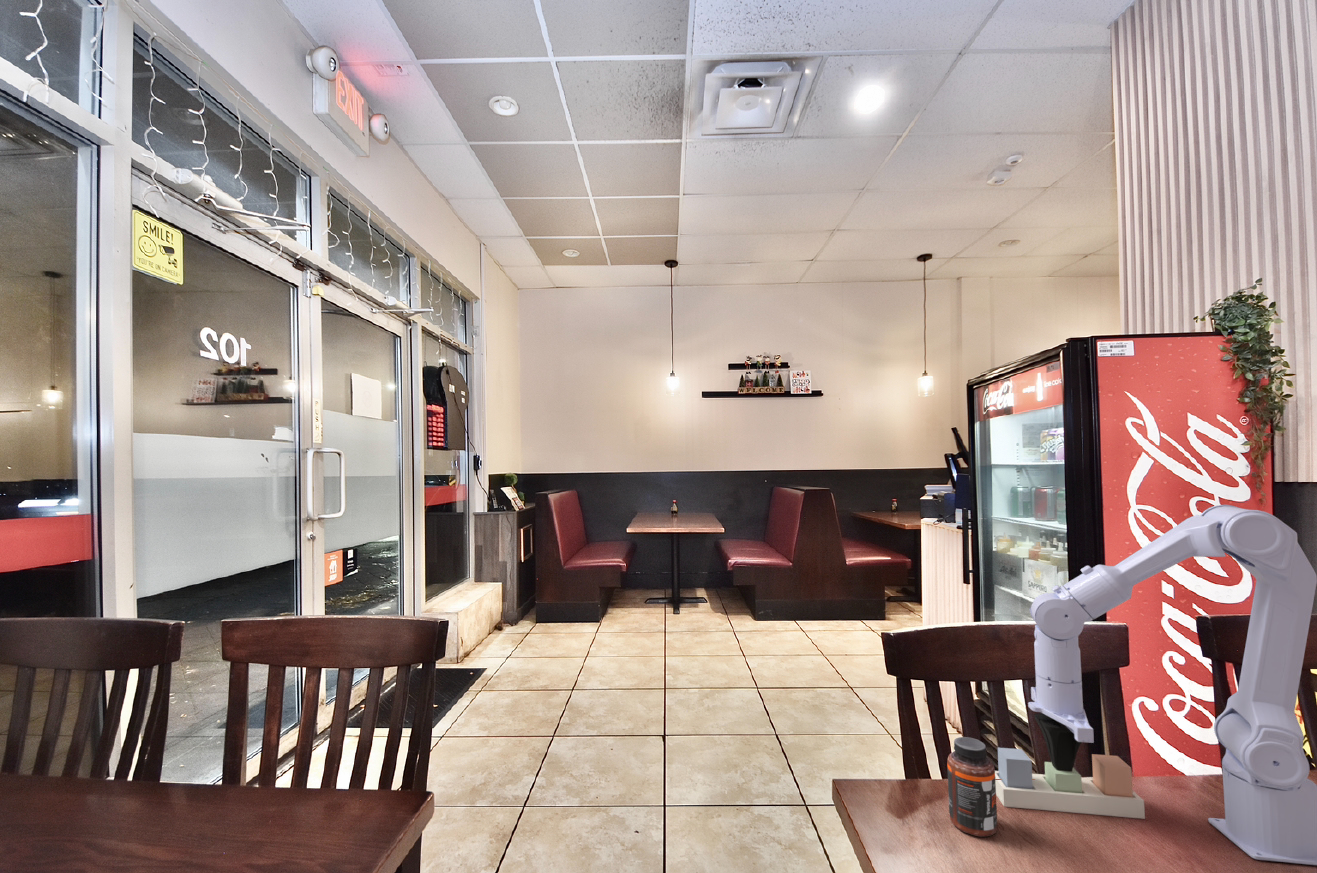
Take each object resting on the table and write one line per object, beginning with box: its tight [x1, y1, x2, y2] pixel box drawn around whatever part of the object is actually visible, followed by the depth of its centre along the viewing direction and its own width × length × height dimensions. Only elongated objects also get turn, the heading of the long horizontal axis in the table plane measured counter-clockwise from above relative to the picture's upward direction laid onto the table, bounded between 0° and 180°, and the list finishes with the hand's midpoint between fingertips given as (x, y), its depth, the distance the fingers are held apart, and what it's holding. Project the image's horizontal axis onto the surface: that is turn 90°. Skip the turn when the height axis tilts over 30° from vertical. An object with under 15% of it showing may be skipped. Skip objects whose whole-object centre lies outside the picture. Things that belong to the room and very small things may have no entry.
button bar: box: [995, 770, 1146, 820], centre depth 86 cm, size 18×5×2 cm, turn 79°
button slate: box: [997, 747, 1033, 789], centre depth 87 cm, size 3×3×4 cm
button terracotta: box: [1091, 753, 1134, 798], centre depth 85 cm, size 3×3×4 cm
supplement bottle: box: [946, 736, 998, 837], centre depth 81 cm, size 6×6×11 cm
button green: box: [1044, 761, 1082, 793], centre depth 86 cm, size 3×3×4 cm
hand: (1062, 768), depth 86 cm, fingers closed, pressing on button green
